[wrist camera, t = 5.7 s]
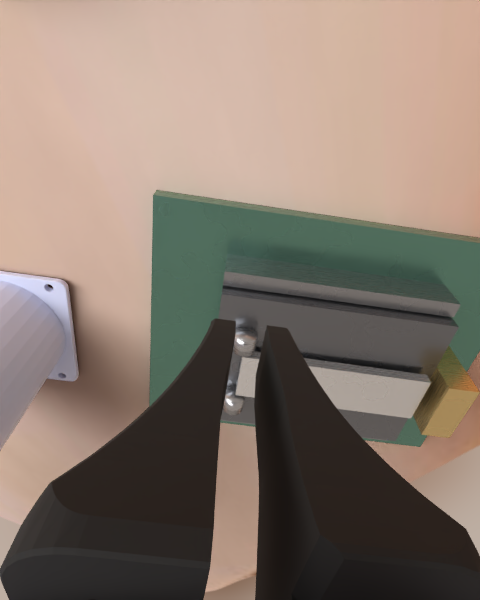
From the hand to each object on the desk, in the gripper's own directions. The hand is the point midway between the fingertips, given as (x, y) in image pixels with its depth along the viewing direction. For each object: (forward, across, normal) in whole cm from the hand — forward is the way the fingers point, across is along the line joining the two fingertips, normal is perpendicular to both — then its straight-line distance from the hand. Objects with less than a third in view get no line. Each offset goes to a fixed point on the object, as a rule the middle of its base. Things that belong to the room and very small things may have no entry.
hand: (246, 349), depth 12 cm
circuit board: (+10, -5, +7) cm, 13 cm away
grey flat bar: (+7, -6, +7) cm, 11 cm away
